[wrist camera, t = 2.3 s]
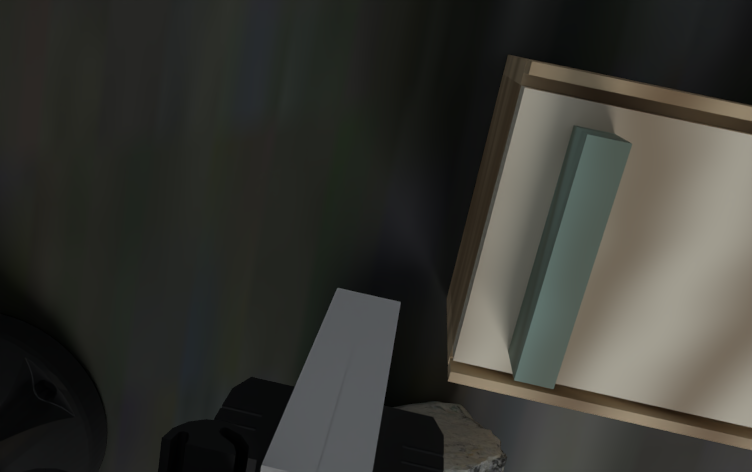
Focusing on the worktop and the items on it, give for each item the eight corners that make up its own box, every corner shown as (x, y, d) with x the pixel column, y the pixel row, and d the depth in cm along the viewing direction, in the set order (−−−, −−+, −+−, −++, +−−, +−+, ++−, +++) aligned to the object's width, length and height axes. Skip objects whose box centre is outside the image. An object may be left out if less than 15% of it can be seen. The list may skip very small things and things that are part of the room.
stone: (344, 614, 33) (493, 506, 30) (267, 438, 38) (387, 332, 35) (434, 574, 41) (560, 485, 38) (360, 433, 46) (465, 345, 43)
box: (446, 298, 38) (448, 381, 29) (507, 54, 34) (532, 61, 25) (823, 382, 37) (946, 494, 28) (935, 143, 33) (1122, 184, 24)
